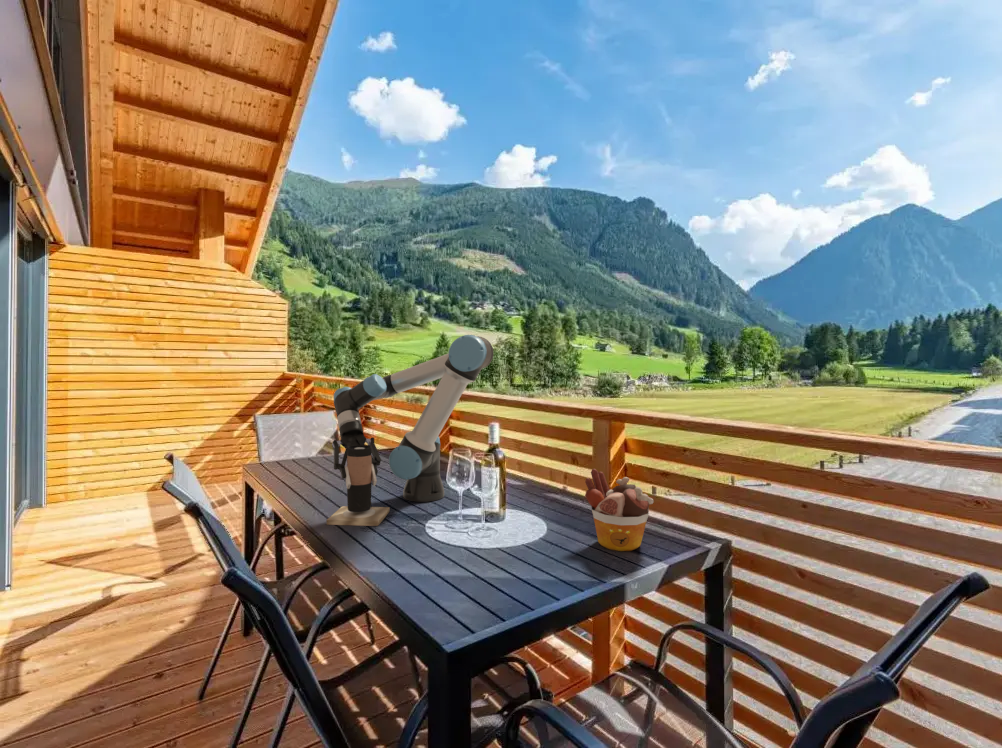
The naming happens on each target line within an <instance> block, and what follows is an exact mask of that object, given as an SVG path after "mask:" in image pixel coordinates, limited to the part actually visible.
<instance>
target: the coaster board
mask: <svg viewBox="0 0 1002 748" xmlns="http://www.w3.org/2000/svg"><path fill="white" fill-rule="evenodd" d="M388 514H390V507H387V506H371V508H370V510H368V511H364V512H350V511H348V505H347V506H344V505H343V506H341V507H340V508H338V509H337V510H336V511H335V512H334V513H333V514H332V515H331V516H329V517H328V518H327V519H326V526H329V525H330V526H335V525H336V526H362V527H364V526H365V527H366V526H367V527H368V526H369V527H370V526H371V527H378V526H379V525H380V524H381V523H382V522H383V520H384V519H385V518H386V517H387V515H388Z"/></svg>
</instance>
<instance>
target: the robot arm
mask: <svg viewBox="0 0 1002 748" xmlns="http://www.w3.org/2000/svg"><path fill="white" fill-rule="evenodd" d="M493 358H494V348H493V346H492V343H491V342H490V341H489V340H488V339H486V338H485V337H482V336H478V335H474V334H464V335H462V336H459V337H457V338H456V339H454V340H453V341H452V343H450V346H449V349H448V353H445V354H443V355H441V356H437V357H434V358H432V359H429V360H427V361H423V362H421V363H418V364H416V365H413V366H410V367H407V368H405V369H402V370H399V371H397V372H394V373H391V374H389V375H385V376H383V377H382V376H381V375H378V374H377V373H373V374H371V375H369V376H368V377H365V378H364V380H361V381H360V382H359V383H357V384H355V386H353V387H349V386H343V387H342V388H341V387H340V388H337V389H336V390H335V391H334V393H333V405H334V409H335V414H336V421H337V426H338V430H339V431H338V432H339V436H340V439H339V440H335V439H333V441H332V443H331V447H332V449H333V469H334V470H339V472H340V476H341V479H344V480H345V485H346V490H347V489H350V485H351V482H350V476H349V471H348V467H347V448H348V447H349V446H354V445H366V444H367V445H369V446H371V452H372V487H374V486H375V487H376V485H377V482H378V480H377V475H378V472H379V471H378V467H379V466H380V465H381V462H382V459H381V456H380V453H379V451H378V448H377V446H376V444H375V438H374V437H371V438H367V437H366V436H365V434H364V430H363V425H362V421H361V416H360V412H359V410H360V409H361V408H363V407H364V406H366V405H368V404H370V403H371V402H372V401H376V400H381V399H388V398H392V397H393V396H395V395H397V394H399V393H402V392H405V391H408V390H411V389H414V388H417V387H419V386H422V385H426V384H428V383H432V382H434V381H437V380H439V379H440V381H439V382H438V384H437V386H436V387H435V390H434V391H433V393H432V395H431V396H430V398H429V399H428V402H427V404H426V405H425V407H424V409H423V411H422V412H421V414H420V417H419V418H418V420H417V422H416V424H415V425H414V427H413V429H412V430H410V431H406V433H405V434H404V436H403V438H402V439H401V441H400V442H399V445H398V446H396V447H395V448H394V449H393V450H392V451H391V452H390V454H389V456H388V465H389V468H390V471H391V472H392V474H393V475H395V477H397V478H399V479H400V480H405V484H404V486H403V487H404V488H403V490H402V498H403V499H404V500H407V501H410V502H417V503H418V502H420V503H421V502H424V503H427V502H434V501H438V500H440V499H443V498H444V497H445V488H444V484H443V481H442V478H441V472H440V471H441V440H440V434H441V432H442V430H443V429H444V427H445V424H446V423H447V421H448V420H449V417H450V416H451V414H452V413H453V411H454V409H455V407H456V405H457V404H458V403H459V401H460V398H461V396H462V395H463V393H464V391H465V390H466V388H467V386H468V385H469V384H470V383H471V384H472V383H475V381H476V379H477V377H478V376H479V374H480V373H481V371H482V369H485V368H487V367H488V366H489V365H490V363H491V362H492V361H493V360H494V359H493ZM341 446H342V447H343V448H345V450H344V454H343V457H342V460H341V463H340V460H339V459H340V452H339V451H340V447H341ZM377 466H378V467H377Z"/></svg>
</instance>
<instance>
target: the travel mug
mask: <svg viewBox="0 0 1002 748" xmlns="http://www.w3.org/2000/svg"><path fill="white" fill-rule="evenodd" d="M372 457H373V455H372V452H371V446H369V445H368V444H367V445H366V444H364V445H354V446H349V447H348V448H347V460H346V466H347V467H348V471H349V476H350V482H351V485H350V489H347V488H346V494H347V495H346V497H347V506H348V511H350V512H364V511H368V510H370V508H371V507H372V487H373V484H372Z"/></svg>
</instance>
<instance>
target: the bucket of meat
mask: <svg viewBox="0 0 1002 748" xmlns="http://www.w3.org/2000/svg"><path fill="white" fill-rule="evenodd" d="M590 474H591V477H592V478H589V477H587V478H585V480H584V481H585V482H584V483H585V485H586V487H587V490H586V491H585V494H584V495H585V499H586V500H587V502H588V504H589V505H590V507H591V512H592V517H593V521H594V528H595V532H596V536H597V537H596V538H597V542H598V544H600V546H601V547H603V548H605V549H607V550H611V551H616V552H632V551H634V550H637V549H638V548H639V547H641V544H642V540H643V536H644V533H645V529H646V525H647V520H648V517H649V514H650V512H649V507H650V505H653V503H654V499H653V498H652V497H649V495H648V494H646V493H643V489H642V487H640V486H636V484H631V483H630V484H629V481H630V478H629V477H627V476H624V477H623V478H619V479H617V480H616V482H615V483H616V484H618V485H616V486H614V487H613V488H611V489H610V488H609V484H608V481H607V479H606V475H605V473H604V472H603V471H598V470H597V469H596V468H592V469H591V470H590Z"/></svg>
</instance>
